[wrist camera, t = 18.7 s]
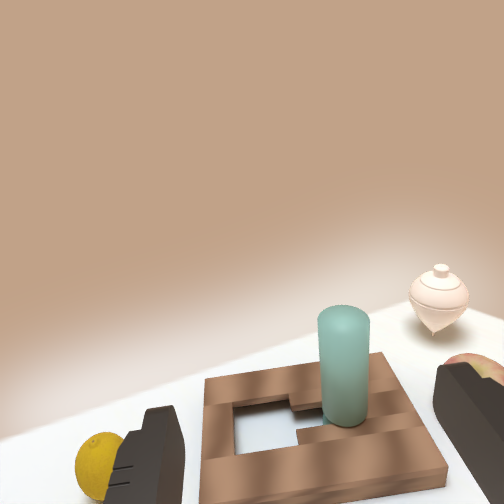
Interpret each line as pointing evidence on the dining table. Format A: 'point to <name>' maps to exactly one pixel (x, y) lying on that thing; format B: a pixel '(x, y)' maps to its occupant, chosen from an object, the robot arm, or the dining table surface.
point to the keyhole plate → (316, 443)
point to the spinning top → (438, 298)
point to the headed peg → (344, 364)
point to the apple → (481, 366)
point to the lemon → (96, 463)
